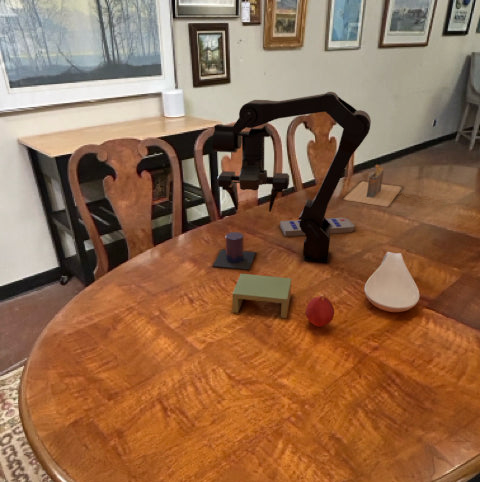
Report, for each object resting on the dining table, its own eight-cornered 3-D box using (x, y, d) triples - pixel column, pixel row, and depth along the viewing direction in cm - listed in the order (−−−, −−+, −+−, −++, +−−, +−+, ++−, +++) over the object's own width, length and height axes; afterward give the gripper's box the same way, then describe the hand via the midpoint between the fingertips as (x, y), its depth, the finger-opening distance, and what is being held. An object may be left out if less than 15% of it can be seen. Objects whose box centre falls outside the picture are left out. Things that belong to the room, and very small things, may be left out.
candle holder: (245, 255, 117) (245, 232, 113) (241, 263, 113) (241, 240, 109) (228, 254, 118) (227, 231, 114) (224, 262, 114) (223, 238, 110)
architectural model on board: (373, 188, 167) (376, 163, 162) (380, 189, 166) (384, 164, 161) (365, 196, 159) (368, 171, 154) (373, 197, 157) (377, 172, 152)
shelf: (290, 296, 99) (291, 278, 97) (286, 318, 91) (287, 299, 89) (241, 291, 101) (240, 273, 99) (232, 312, 94) (232, 293, 91)
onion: (302, 318, 91) (304, 287, 87) (328, 317, 92) (331, 286, 88) (308, 335, 86) (310, 303, 82) (335, 333, 87) (339, 301, 83)
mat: (255, 253, 119) (255, 252, 119) (249, 270, 110) (249, 269, 110) (221, 250, 121) (221, 249, 120) (212, 267, 112) (212, 265, 112)
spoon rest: (417, 324, 89) (424, 295, 85) (360, 315, 92) (365, 287, 89) (412, 271, 109) (418, 246, 105) (365, 265, 112) (369, 241, 108)
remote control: (280, 226, 135) (280, 220, 134) (347, 222, 137) (348, 216, 136) (285, 236, 129) (285, 230, 127) (356, 232, 131) (356, 225, 129)
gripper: (210, 160, 102) (213, 220, 110) (286, 162, 99) (284, 223, 107) (220, 149, 112) (222, 205, 119) (290, 151, 109) (288, 208, 116)
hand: (253, 210), depth 115 cm, fingers open, 9 cm apart
